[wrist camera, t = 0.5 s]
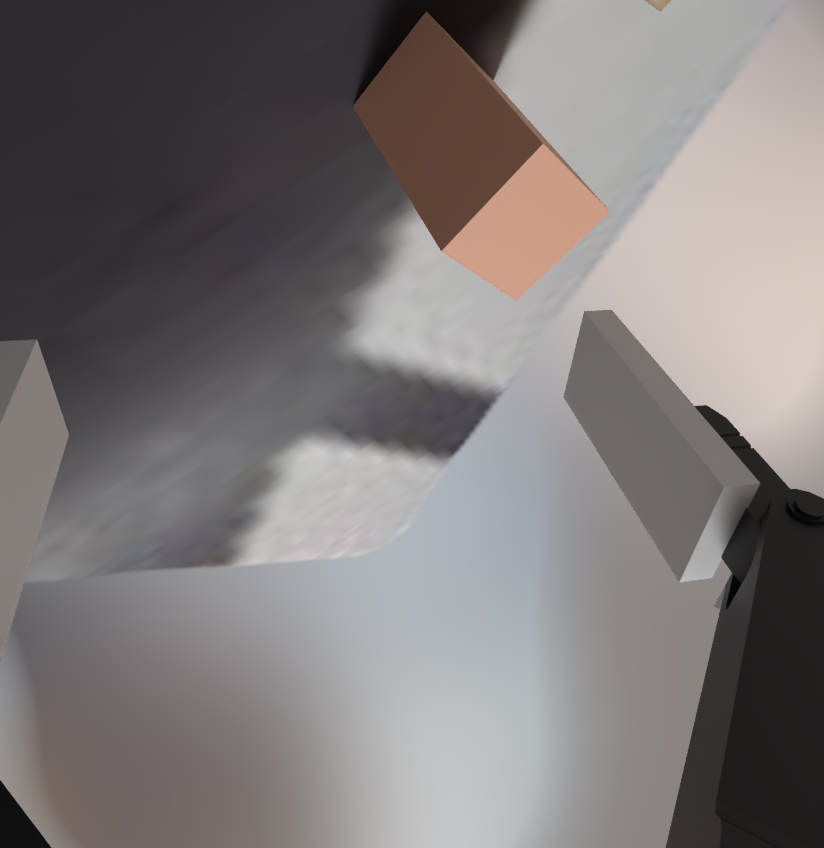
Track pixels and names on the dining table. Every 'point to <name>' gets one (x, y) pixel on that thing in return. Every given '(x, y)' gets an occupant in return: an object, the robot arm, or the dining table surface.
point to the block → (474, 163)
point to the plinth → (658, 3)
